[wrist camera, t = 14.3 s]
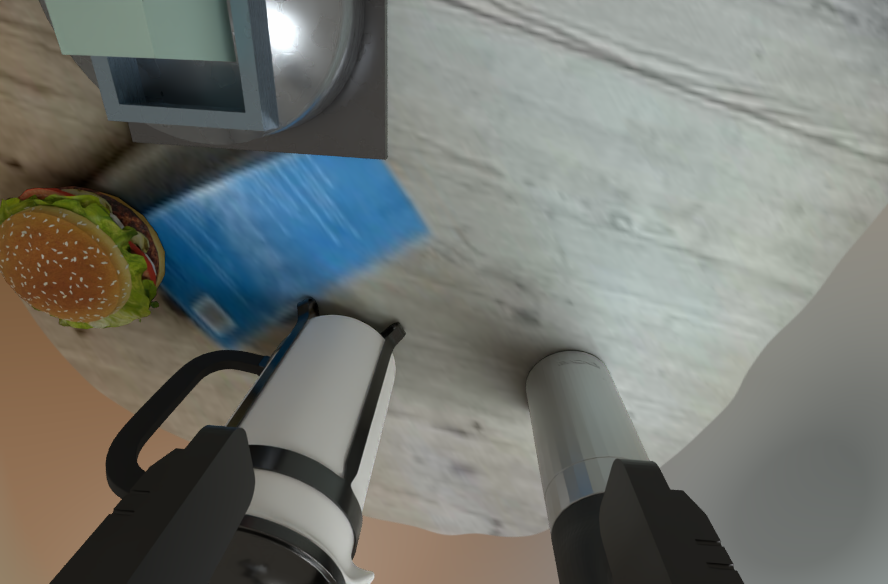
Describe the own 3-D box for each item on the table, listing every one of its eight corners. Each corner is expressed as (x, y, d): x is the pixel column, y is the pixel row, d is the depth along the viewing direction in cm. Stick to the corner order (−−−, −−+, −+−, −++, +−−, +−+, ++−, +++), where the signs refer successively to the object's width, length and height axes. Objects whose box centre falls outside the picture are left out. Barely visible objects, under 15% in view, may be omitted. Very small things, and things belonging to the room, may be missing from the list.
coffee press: (368, 260, 42) (193, 582, 16) (435, 381, 49) (391, 758, 22) (227, 317, 46) (-107, 651, 20) (305, 422, 53) (135, 783, 26)
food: (60, 299, 47) (-14, 339, 39) (23, 168, 40) (-73, 188, 33) (187, 320, 47) (137, 365, 40) (171, 194, 40) (107, 220, 33)
